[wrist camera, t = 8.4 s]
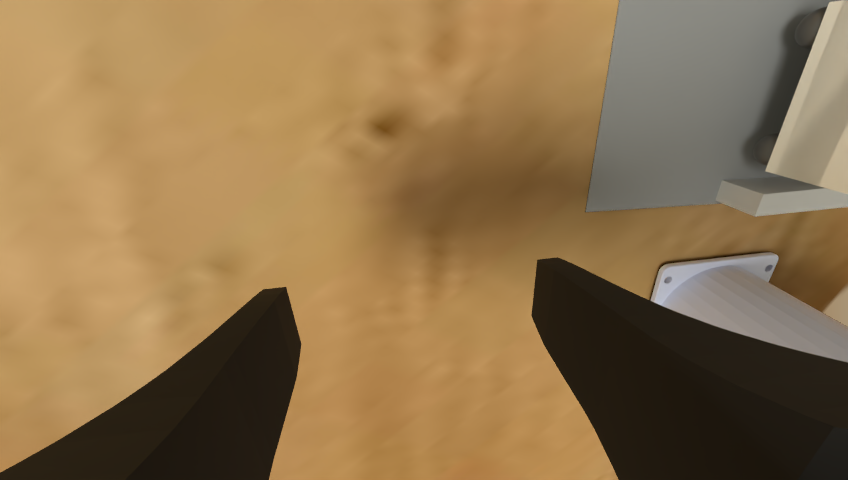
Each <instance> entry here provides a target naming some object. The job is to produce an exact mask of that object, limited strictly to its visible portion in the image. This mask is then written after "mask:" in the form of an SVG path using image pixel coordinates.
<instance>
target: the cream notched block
mask: <svg viewBox="0 0 848 480" xmlns="http://www.w3.org/2000/svg"><path fill="white" fill-rule="evenodd" d="M795 40H796V42H797V43H798V45H800V46H801V47H803V48H807V49H811V51H810V54H809V57H808V59H807V62H806V65H805V67H804V70H803V73H802V75H801V78H800V80H799V83H798V86H797V88H796V91H795V94H794V96H793V99H792V101H791V104H790V107H789V109H788V112H787V115H786V117H785V120H784V123H783V125H782V128H781V130H780V133H772V134H769V135H766V136H764V137H763V138H761V139H760V140H759V141H758V142H757V143H756V144H755V146H754V149H753V155H754V158H755V159H756V160H757V161H758V162H759V163H761V164H763V165H767V167H766V170H765V171H766V172H770V173H773V174H777V175H780V176H784V177H788V178H791V179H795V180H798V181H802V182H805V183H809V184H813V185H816V186H820V187H823V188H827V189H830V190H834V191H838V192H841V193H845V194H848V0H841V1H834V2H829V4H828V6H826V7H822V8H819V9H817V10H815V11H813V12H811V13H809V14H808V15H807V16H806V17H804V18H803V19H802V20H801V22H800V23H799V24H798V26H797V28H796V31H795Z"/></svg>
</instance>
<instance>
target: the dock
mask: <svg viewBox="0 0 848 480" xmlns="http://www.w3.org/2000/svg"><path fill="white" fill-rule="evenodd" d="M834 1H841V0H619V5H618V11H617V17H616V23H615V30H614V36H613V42H612V48H611V55H610V61H609V67H608V74H607V80H606V86H605V92H604V99H603V105H602V111H601V117H600V124H599V130H598V136H597V142H596V149H595V155H594V161H593V167H592V174H591V180H590V186H589V192H588V199H587V205H586V211H585V212H596V211H611V210H627V209H642V208H658V207H673V206H689V205H704V204H720V203H723V204H725V205H727V206H730V207H732V208H735V209H737V210H740V211H742V212H745V213H747V214H750V215H752V216H755V217H756V216H765V215H775V214H785V213H794V212H804V211H813V210H823V209H833V208H842V207H848V194H845V193H841V192H838V191H834V190H830V189H827V188H823V187H820V186H816V185H813V184H809V183H805V182H802V181H798V180H795V179H791V178H788V177H784V176H780V175H777V174H773V173H770V172H766V171H765V170H766V167H767V165H763V164H761V163H759V162H758V161H757V160H756V159H755V158H754V155H753V149H754V146H755V144H756V143H757V142H758V141H759V140H760V139H761V138H763V137H764V136H766V135H769V134H772V133H780V130H781V128H782V125H783V123H784V120H785V117H786V115H787V112H788V109H789V107H790V104H791V101H792V99H793V96H794V94H795V91H796V88H797V86H798V83H799V80H800V78H801V75H802V73H803V70H804V67H805V65H806V62H807V59H808V57H809V54H810V51H811V49H807V48H803V47H801V46H800V45H798V43H797V42H796V40H795V31H796V28H797V26H798V24H799V23H800V22H801V20H802V19H803V18H804V17H806V16H807V15H808V14H809V13H811V12H813V11H815V10H817V9H819V8H822V7H826V6H828V4H829V2H834Z"/></svg>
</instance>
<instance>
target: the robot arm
mask: <svg viewBox="0 0 848 480" xmlns="http://www.w3.org/2000/svg"><path fill="white" fill-rule="evenodd" d="M778 259H779V258H778V255H776V254H774V253H772V252H767V253H758V254H749V255H740V256H732V257H723V258H714V259H705V260H696V261H687V262H679V263H670V264H665V265H663V266H662V267H661V268H660V270H659V272H658V276H657V279H656V283H655V287H654V290H653V294H652V297H651V301H650V300H647V299H645V298H643V297H640V296H638V295H636V294H634V293H632V292H630V291H627V290H625V289H623V288H621V287H619V286H617V285H615V284H613V283H611V282H609V281H607V280H605V279H603V278H600V277H598V276H596V275H594V274H592V273H590V272H588V271H586V270H584V269H582V268H580V267H578V266H576V265H574V264H572V263H570V262H567V261H565V260H562V259H560V258H549V259H540V260H537V269H536V278H535V288H534V298H533V307H532V318H533V320H534V323H535V325H536V328H537V330H538V332H539V334H540V337H541V339H542V341H543V343H544V345H545V347H546V349H547V351H548V352H549V354H550V356H551V357H552V359H553V361H554V362H555V364H556V366H557V367H558V369H559V371H560V372H561V374H562V375H563V377H564V379H565V380H566V382H567V384H568V385H569V387H570V388H571V390H572V392H573V393H574V395H575V397H576V398H577V400H578V401H579V403H580V405H581V406H582V408H583V410H584V411H585V413H586V415H587V416H588V418H589V420H590V422H591V424H592V425H593V427H594V429H595V431H596V433H597V435H598V437H599V439H600V441H601V443H602V445H603V448H604V450H605V452H606V454H607V456H608V458H609V460H610V462H611V464H612V466H613V468H614V470H615V473H616V475H617V477H618V479H619V480H848V327H847V326H845V325H843V324H841V323H840V322H838V321H836V320H834V319H833V318H831V317H829V316H827V315H826V314H824V313H822V312H820V311H818V310H817V309H815V308H813V307H811V306H810V305H808V304H806V303H804V302H802V301H801V300H799V299H797V298H795V297H793V296H792V295H790V294H788V293H786V292H785V291H783V290H781V289H779V288H777V287H776V286H774V285H772V284H770V283H768V282H769V280H770V278H771V275H772V273H773V271H774V269H775V266H776V264H777V262H778ZM665 278H666V279H665ZM300 349H301V341H300V338H299V334H298V330H297V326H296V323H295V319H294V315H293V311H292V308H291V304H290V300H289V296H288V293H287V289H286V287H282V288H273V289H263V290H262V291H261V292H259V293H258V294H257V295H256V296H254V297H253V298H252V299H251V300H250V301H249V302H247V303H246V304H245V305H244V306H243V307H242V308H241V309H240V310H238V311H237V312H236V313H235V314H234V315H233V316H232V317H230V318H229V319H228V320H227V321H226V322H225V323H223V324H222V325H221V326H220V327H219V328H218V329H217V330H215V331H214V332H213V333H212V334H211V335H210V336H208V337H207V338H206V339H205V340H203V341H202V342H201V343H200V344H198V345H197V346H196V347H195V348H193V349H192V350H191V351H190V352H188V353H187V354H186V355H185V356H183V357H182V358H181V359H180V360H178V361H177V362H176V363H175V364H173V365H172V366H171V367H170V368H168V369H167V370H166V371H164V372H163V373H162V374H160V375H159V376H157V377H156V378H155V379H153V380H152V381H150V382H149V383H148V384H146V385H145V386H143V387H142V388H140V389H139V390H137V391H136V392H134V393H133V394H132V395H130V396H129V397H127V398H126V399H124V400H123V401H121V402H120V403H118V404H117V405H115V406H114V407H112V408H110V409H109V410H107V411H105V412H104V413H102V414H101V415H99V416H97V417H96V418H94V419H92V420H91V421H89V422H88V423H86V424H84V425H83V426H81V427H79V428H78V429H76V430H74V431H73V432H71V433H70V434H68V435H66V436H65V437H63V438H61V439H60V440H58V441H56V442H55V443H53V444H51V445H49V446H48V447H46V448H44V449H42V450H41V451H39V452H37V453H35V454H33V455H32V456H30V457H28V458H26V459H25V460H23V461H21V462H19V463H17V464H16V465H14V466H12V467H10V468H8V469H6V470H4V471H3V472H1V473H0V480H269V476H270V472H271V468H272V464H273V460H274V456H275V452H276V449H277V445H278V442H279V438H280V435H281V431H282V428H283V424H284V421H285V417H286V414H287V410H288V407H289V403H290V399H291V396H292V392H293V389H294V385H295V381H296V377H297V371H298V364H299V357H300Z"/></svg>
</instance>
